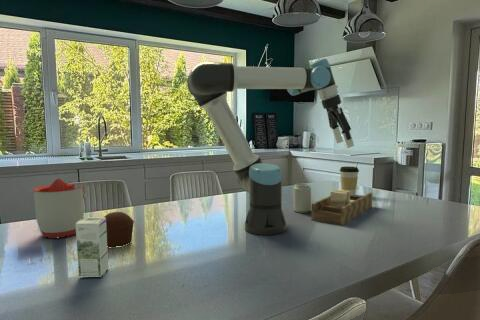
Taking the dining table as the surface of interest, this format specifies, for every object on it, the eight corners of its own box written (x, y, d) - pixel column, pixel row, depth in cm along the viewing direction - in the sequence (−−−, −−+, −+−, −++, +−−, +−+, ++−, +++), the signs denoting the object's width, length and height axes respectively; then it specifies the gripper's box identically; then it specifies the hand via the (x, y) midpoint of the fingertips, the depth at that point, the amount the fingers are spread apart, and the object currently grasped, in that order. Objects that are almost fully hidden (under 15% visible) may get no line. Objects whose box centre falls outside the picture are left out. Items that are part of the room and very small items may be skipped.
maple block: (344, 208, 138) (344, 193, 138) (330, 206, 142) (330, 191, 141) (349, 205, 143) (350, 191, 143) (335, 203, 147) (336, 189, 146)
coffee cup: (360, 194, 184) (361, 166, 182) (355, 198, 175) (356, 169, 174) (341, 192, 189) (342, 165, 187) (336, 196, 181) (337, 167, 179)
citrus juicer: (99, 230, 125) (96, 176, 123) (50, 244, 111) (46, 183, 109) (75, 223, 134) (72, 173, 132) (27, 236, 120) (23, 179, 118)
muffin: (132, 248, 107) (131, 217, 106) (95, 251, 105) (93, 219, 104) (136, 236, 118) (135, 207, 117) (102, 238, 116) (100, 209, 115)
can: (309, 209, 154) (310, 182, 152) (311, 213, 146) (311, 185, 145) (293, 208, 154) (293, 182, 153) (293, 213, 147) (294, 185, 146)
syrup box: (109, 269, 91) (106, 216, 90) (101, 279, 86) (98, 222, 84) (87, 269, 91) (84, 216, 90) (78, 279, 85) (74, 222, 84)
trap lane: (343, 225, 128) (343, 208, 128) (311, 219, 136) (311, 203, 136) (372, 206, 157) (372, 192, 156) (344, 202, 165) (344, 189, 164)
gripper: (348, 93, 128) (365, 145, 132) (329, 93, 153) (343, 137, 157) (329, 100, 129) (346, 152, 133) (313, 99, 153) (328, 143, 157)
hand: (345, 144), depth 145 cm, fingers open, 13 cm apart
